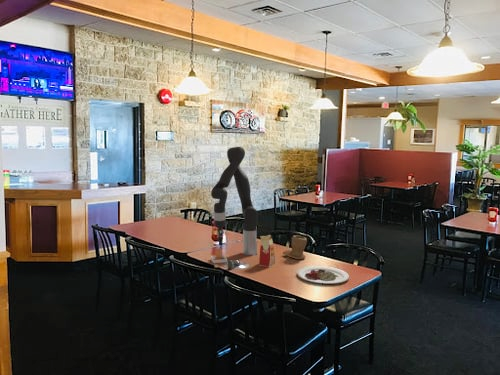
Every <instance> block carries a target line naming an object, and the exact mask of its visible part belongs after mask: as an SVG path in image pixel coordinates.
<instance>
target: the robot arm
mask: <svg viewBox="0 0 500 375" xmlns="http://www.w3.org/2000/svg"><path fill="white" fill-rule="evenodd" d="M226 154H227V159H228V163H229V165H228V166H227V167H226V168H225V169H224V170H223V171H222V173H221V175H220V177H219V179H218V180H219V181H217V182H216V183H215V185H214V186H213V187H212V189H211V191H210V194H211V198H212V199H215V200H219V201H218V202H215V203H214V204H213V226H214V227H215V228H217V229H216V233H217V241H218V246H223V239H224V238H223V237H224V228H225V227H226V226H227V225H226V224H227V223H226V217H227V215H226V203H227V200H228V191H227V189H226V188H228V187H229V185H230V184H231V181H232V179H234V183H235V187H236V191H237V194H238V197H239V200H240V204H241V212H242V216H243V218H244V220H243V221H244V223H243V224H244V225H243V227H242V229H243V230H242V235H243V236H242V254H243V255H245V256H256V255H258V241H257V228H258V222H259V221H258V219H259V213H258V210H257V209H256V208H255V207H254V205H253V203H252V198H251V185H250V181H249V177H248V176H247V174H246V173H245V172H244V171H243V169H242V168H241V165H240V164H241V163H242V162H243V160H244V158H245V155H246V151H245V149H244V147H243V146H234V147H229V148H228V149H227V152H226Z"/></svg>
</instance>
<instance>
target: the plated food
mask: <svg viewBox="0 0 500 375" xmlns="http://www.w3.org/2000/svg"><path fill="white" fill-rule="evenodd" d="M296 273H297V276H298V277H299V278H301V279H302V280H305V281H307V282H310V283H311V282H312V283H316V284H322V283H323V284H325V285H326V284H329V285H330V284H331V285H332V284H340V283H344V282H347V281H348V280H349V277H350V275H349V274H348V273H347V272H346V270H345V271H344V270H342V269H339V268H336V267H331V266H327V265H326V266H325V265H309V266H305V267H301V268H300V269H298V270H297V272H296Z"/></svg>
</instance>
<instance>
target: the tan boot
mask: <svg viewBox="0 0 500 375" xmlns="http://www.w3.org/2000/svg"><path fill="white" fill-rule="evenodd" d="M291 237H292V238H291V249H290V250H284V251H283V252H282V254H283V255H284V256H288V257H290V258H292V259H296V260H304V259H305V258H306V256H305V254H304V250H305V248H306V246H307V244H308V243H307V242H308V239H307V238H306V237H305V236H302V235H299V234H298V235H297V234H296V235H295V234H294V235H293V236H291Z"/></svg>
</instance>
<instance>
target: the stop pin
mask: <svg viewBox="0 0 500 375" xmlns="http://www.w3.org/2000/svg"><path fill="white" fill-rule="evenodd" d="M222 255H223V249H222V247H216V248H215V256H216V259H215V260H220V259H223V258H222Z"/></svg>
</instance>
